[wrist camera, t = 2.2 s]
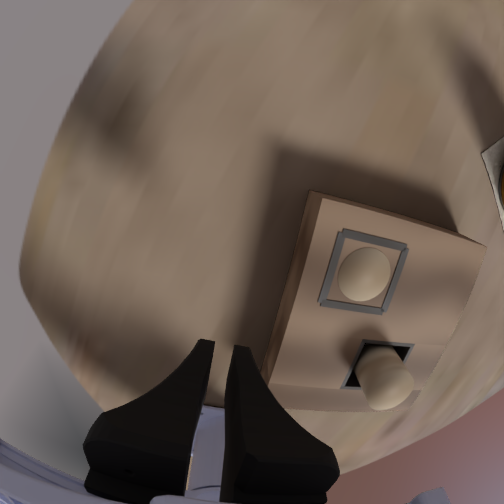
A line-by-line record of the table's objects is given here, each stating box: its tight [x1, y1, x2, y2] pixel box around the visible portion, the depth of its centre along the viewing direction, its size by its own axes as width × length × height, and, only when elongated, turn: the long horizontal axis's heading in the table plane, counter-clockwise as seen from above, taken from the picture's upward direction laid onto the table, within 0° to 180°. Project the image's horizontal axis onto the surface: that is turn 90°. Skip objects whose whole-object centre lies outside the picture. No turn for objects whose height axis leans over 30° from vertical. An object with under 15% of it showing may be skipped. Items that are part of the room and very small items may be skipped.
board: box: [260, 190, 487, 412], centre depth 22 cm, size 16×14×4 cm
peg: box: [353, 343, 414, 410], centre depth 20 cm, size 4×4×4 cm
